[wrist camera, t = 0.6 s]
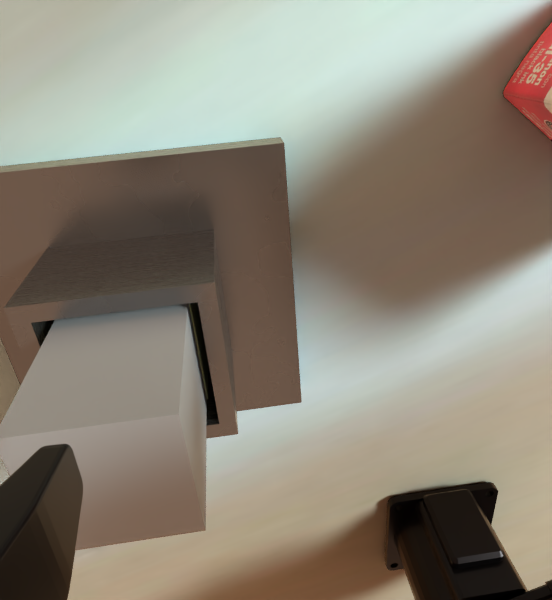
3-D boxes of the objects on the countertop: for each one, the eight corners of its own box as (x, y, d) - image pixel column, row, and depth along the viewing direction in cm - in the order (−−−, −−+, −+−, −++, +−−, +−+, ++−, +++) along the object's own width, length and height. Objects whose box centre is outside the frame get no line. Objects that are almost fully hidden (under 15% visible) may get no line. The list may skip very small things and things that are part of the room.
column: (208, 348, 21) (207, 531, 14) (106, 361, 21) (46, 556, 13) (192, 256, 19) (180, 412, 11) (78, 270, 19) (-11, 438, 11)
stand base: (298, 388, 24) (322, 490, 19) (49, 422, 24) (2, 537, 18) (280, 137, 18) (308, 182, 13) (-53, 171, 18) (-165, 234, 12)
